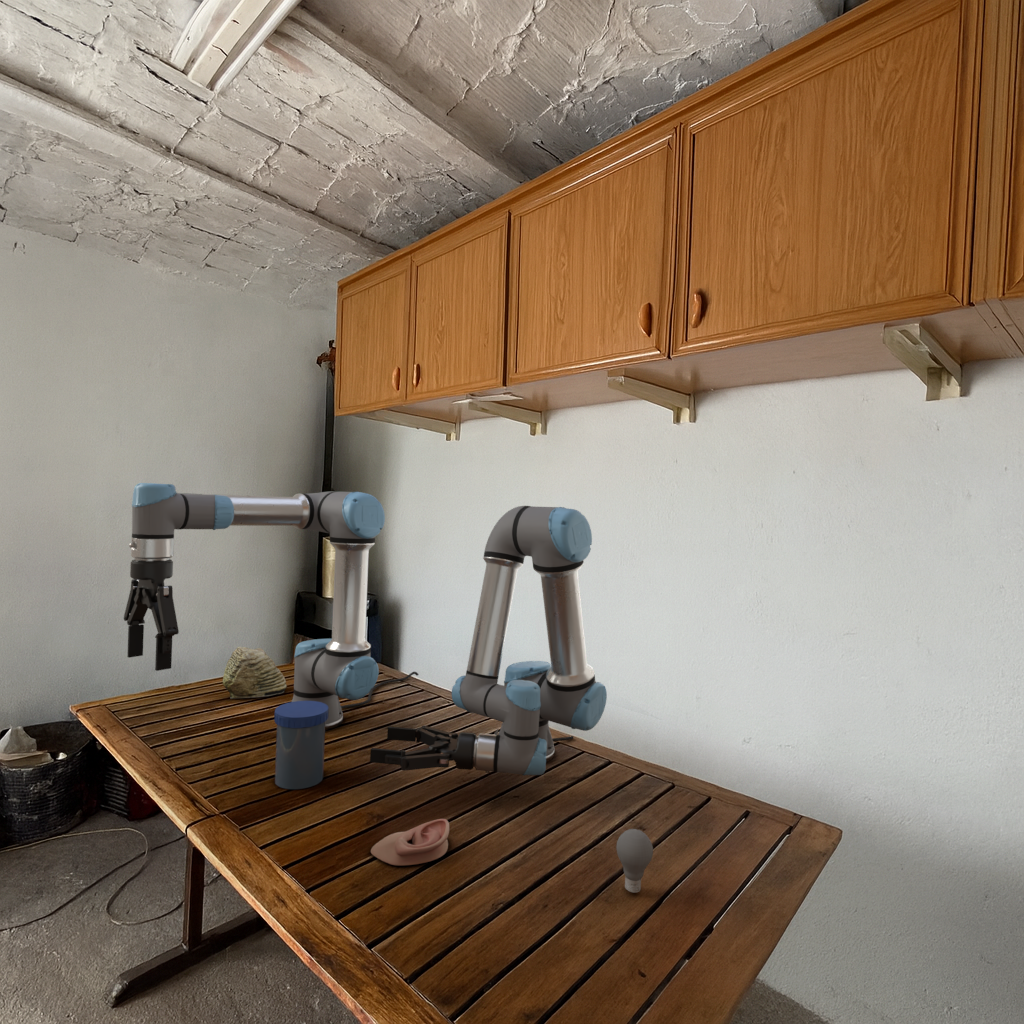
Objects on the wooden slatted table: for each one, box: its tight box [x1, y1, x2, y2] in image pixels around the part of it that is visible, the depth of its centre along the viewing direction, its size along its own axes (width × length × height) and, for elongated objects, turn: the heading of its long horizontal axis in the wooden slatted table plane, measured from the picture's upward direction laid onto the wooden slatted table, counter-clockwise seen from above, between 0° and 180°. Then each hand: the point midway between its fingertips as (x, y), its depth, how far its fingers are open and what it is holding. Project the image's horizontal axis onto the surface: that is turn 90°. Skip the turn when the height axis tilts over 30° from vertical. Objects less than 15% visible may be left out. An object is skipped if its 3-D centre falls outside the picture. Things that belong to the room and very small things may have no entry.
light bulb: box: [615, 828, 654, 894], centre depth 106 cm, size 6×6×10 cm
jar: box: [274, 722, 326, 790], centre depth 142 cm, size 10×10×15 cm
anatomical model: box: [370, 818, 450, 867], centre depth 115 cm, size 13×4×12 cm
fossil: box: [222, 646, 288, 699], centre depth 198 cm, size 9×18×15 cm, turn 132°
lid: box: [273, 701, 329, 728], centre depth 141 cm, size 11×12×2 cm
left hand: (148, 662), depth 129 cm, fingers open, 13 cm apart
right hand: (379, 743), depth 139 cm, fingers open, 13 cm apart
